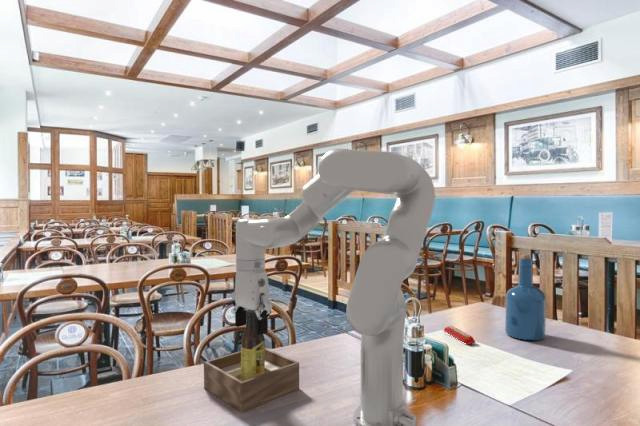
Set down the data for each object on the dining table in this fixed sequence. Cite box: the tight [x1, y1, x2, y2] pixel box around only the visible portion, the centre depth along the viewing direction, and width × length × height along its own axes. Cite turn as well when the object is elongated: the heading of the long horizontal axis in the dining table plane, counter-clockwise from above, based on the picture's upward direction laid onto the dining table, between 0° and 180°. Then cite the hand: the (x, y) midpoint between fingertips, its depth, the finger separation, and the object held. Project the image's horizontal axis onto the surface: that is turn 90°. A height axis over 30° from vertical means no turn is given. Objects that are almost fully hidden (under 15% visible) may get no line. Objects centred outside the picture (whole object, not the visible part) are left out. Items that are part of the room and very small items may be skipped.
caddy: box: [203, 347, 300, 414], centre depth 111 cm, size 18×18×7 cm
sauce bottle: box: [240, 309, 266, 381], centre depth 110 cm, size 6×6×20 cm
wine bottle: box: [504, 253, 547, 341], centre depth 152 cm, size 14×13×30 cm
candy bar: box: [444, 325, 476, 346], centre depth 150 cm, size 16×4×3 cm, turn 14°
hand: (251, 329), depth 110 cm, fingers open, 9 cm apart
